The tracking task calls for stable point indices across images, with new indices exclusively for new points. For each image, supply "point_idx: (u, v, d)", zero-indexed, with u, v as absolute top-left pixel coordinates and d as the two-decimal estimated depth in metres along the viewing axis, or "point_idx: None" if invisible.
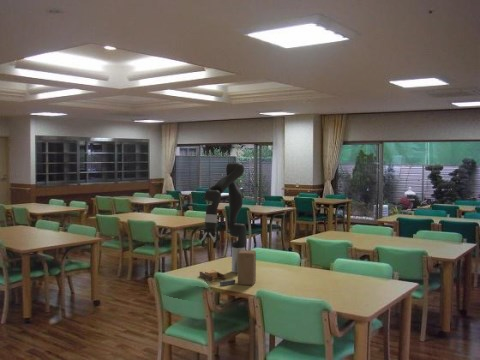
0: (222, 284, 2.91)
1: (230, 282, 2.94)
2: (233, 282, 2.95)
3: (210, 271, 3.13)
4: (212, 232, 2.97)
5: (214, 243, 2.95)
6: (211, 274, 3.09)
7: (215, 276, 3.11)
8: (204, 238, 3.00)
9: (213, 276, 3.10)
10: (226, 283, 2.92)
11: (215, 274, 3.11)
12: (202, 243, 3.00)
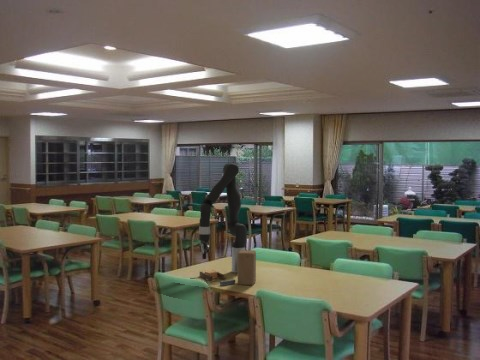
0: (222, 284, 2.91)
1: (230, 282, 2.94)
2: (233, 282, 2.95)
3: (210, 271, 3.13)
4: (204, 243, 3.17)
5: (203, 254, 3.19)
6: (211, 274, 3.09)
7: (215, 276, 3.11)
8: None
9: (213, 276, 3.10)
10: (226, 283, 2.92)
11: (215, 274, 3.11)
12: (202, 255, 3.20)
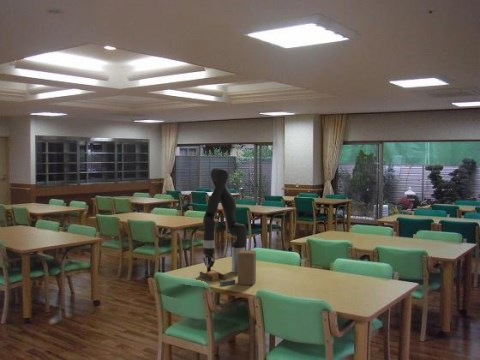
0: (222, 284, 2.91)
1: (230, 282, 2.94)
2: (233, 282, 2.95)
3: (211, 272, 3.11)
4: (209, 257, 3.11)
5: (208, 268, 3.14)
6: (212, 275, 3.08)
7: (216, 277, 3.09)
8: None
9: (214, 277, 3.09)
10: (226, 283, 2.92)
11: (216, 275, 3.09)
12: (207, 269, 3.14)
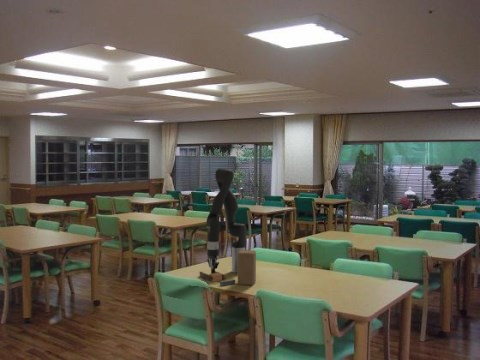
0: (222, 284, 2.91)
1: (230, 282, 2.94)
2: (233, 282, 2.95)
3: (215, 273, 3.06)
4: (213, 258, 3.06)
5: (212, 270, 3.09)
6: (216, 276, 3.02)
7: (220, 278, 3.04)
8: None
9: (218, 278, 3.03)
10: (226, 283, 2.92)
11: (220, 276, 3.04)
12: (211, 271, 3.09)
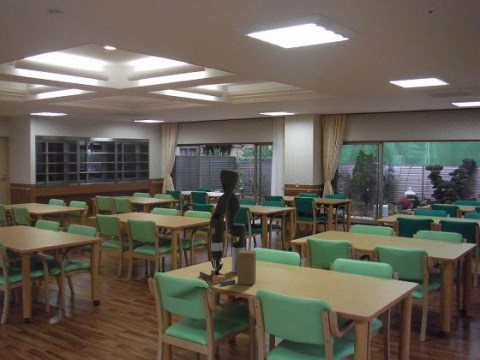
0: (222, 284, 2.91)
1: (230, 282, 2.94)
2: (233, 282, 2.95)
3: (218, 275, 3.02)
4: (217, 260, 3.02)
5: (216, 272, 3.04)
6: (219, 278, 2.98)
7: (224, 280, 2.99)
8: None
9: (221, 280, 2.99)
10: (226, 283, 2.92)
11: (224, 278, 2.99)
12: (215, 272, 3.05)
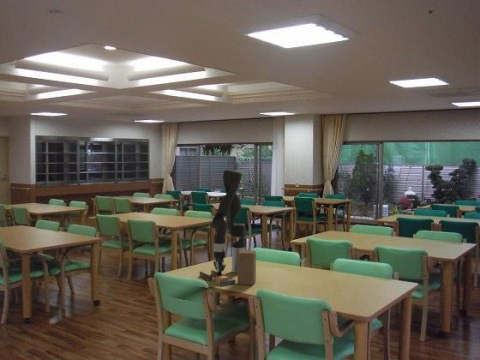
0: (222, 284, 2.91)
1: (230, 282, 2.94)
2: (233, 282, 2.95)
3: (221, 276, 2.99)
4: (220, 261, 2.99)
5: (218, 273, 3.01)
6: (222, 279, 2.95)
7: None
8: None
9: None
10: (226, 283, 2.92)
11: (226, 279, 2.97)
12: (217, 273, 3.02)
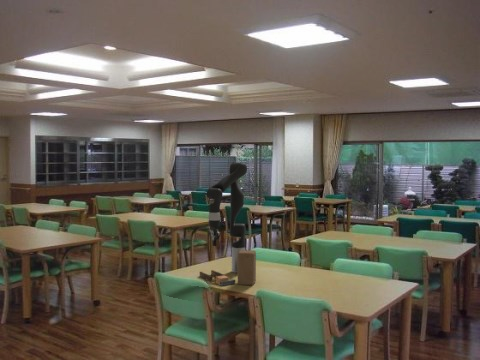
0: (222, 284, 2.91)
1: (230, 282, 2.94)
2: (233, 282, 2.95)
3: (221, 276, 2.99)
4: (215, 229, 3.05)
5: (213, 241, 3.07)
6: (222, 279, 2.95)
7: None
8: None
9: None
10: (226, 283, 2.92)
11: (226, 279, 2.97)
12: None
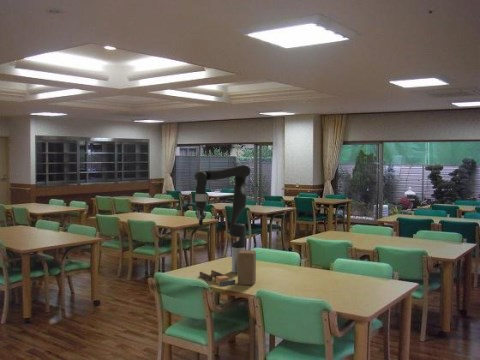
0: (222, 284, 2.91)
1: (230, 282, 2.94)
2: (233, 282, 2.95)
3: (221, 276, 2.99)
4: (201, 209, 3.25)
5: (200, 221, 3.28)
6: (222, 279, 2.95)
7: None
8: None
9: None
10: (226, 283, 2.92)
11: (226, 279, 2.96)
12: (199, 222, 3.28)
